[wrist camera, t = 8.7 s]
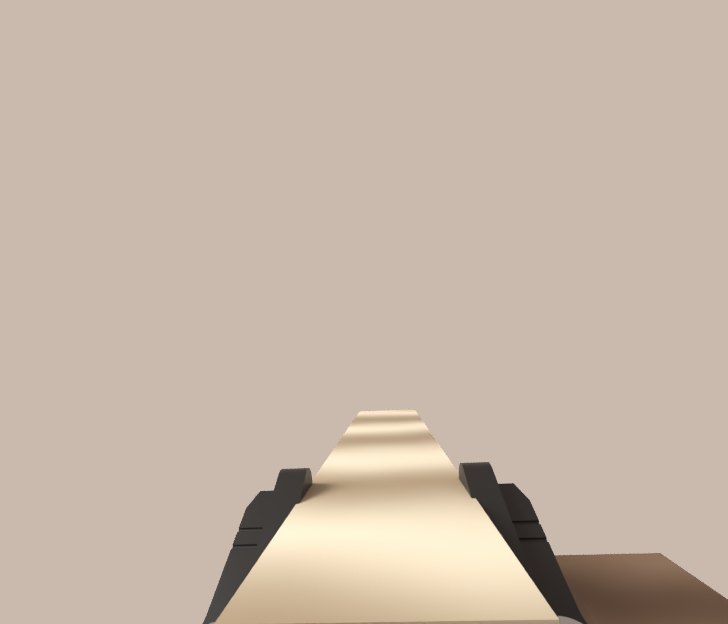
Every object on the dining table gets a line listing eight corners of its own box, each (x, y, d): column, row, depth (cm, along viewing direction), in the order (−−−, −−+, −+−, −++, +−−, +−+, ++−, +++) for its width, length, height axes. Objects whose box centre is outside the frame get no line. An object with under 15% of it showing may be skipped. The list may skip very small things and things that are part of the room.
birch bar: (601, 1008, 4) (558, 619, 4) (210, 995, 4) (213, 625, 5) (417, 459, 28) (414, 409, 28) (361, 461, 28) (359, 411, 28)
